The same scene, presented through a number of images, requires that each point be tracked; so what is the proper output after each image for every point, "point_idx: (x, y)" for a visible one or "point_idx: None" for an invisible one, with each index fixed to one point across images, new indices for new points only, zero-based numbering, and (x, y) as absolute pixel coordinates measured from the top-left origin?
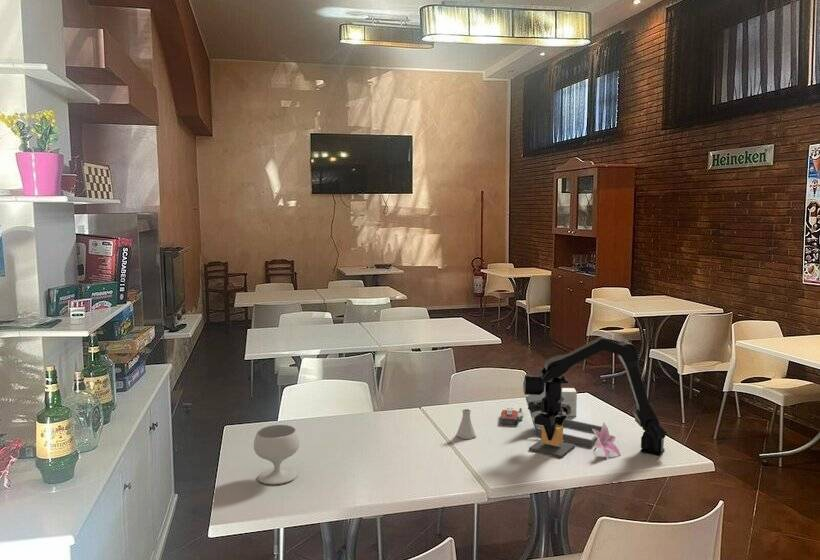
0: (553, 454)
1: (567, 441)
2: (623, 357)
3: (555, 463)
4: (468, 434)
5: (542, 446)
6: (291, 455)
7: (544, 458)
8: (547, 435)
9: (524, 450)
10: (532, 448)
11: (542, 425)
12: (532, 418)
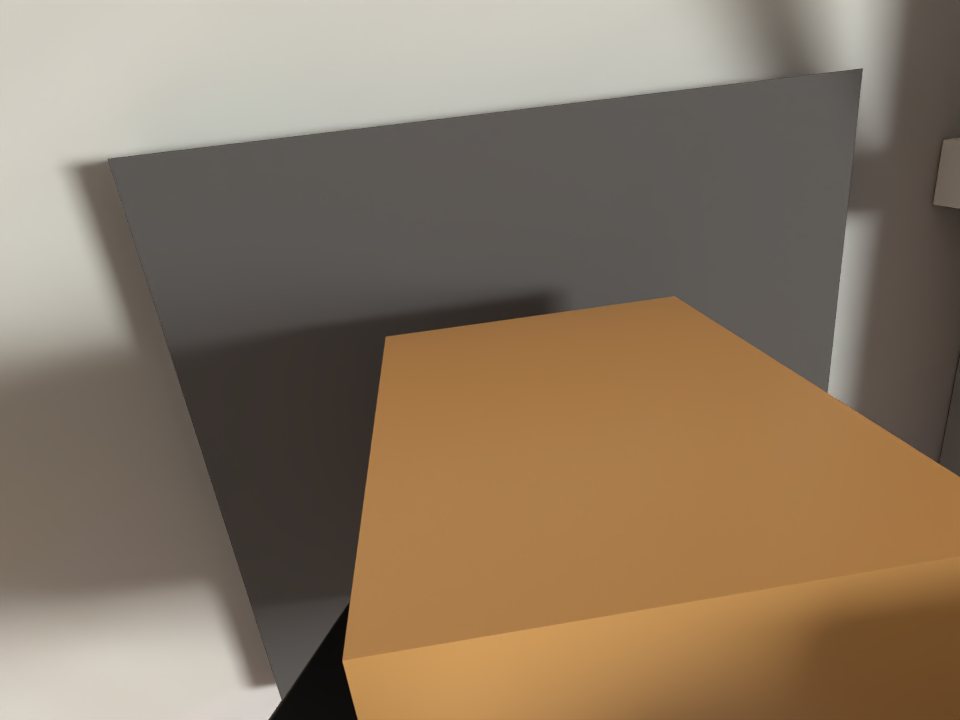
0: (259, 606)
1: (952, 428)
2: None
3: (78, 715)
4: None
5: (394, 330)
6: None
7: (84, 541)
8: (333, 648)
9: (55, 76)
10: (137, 242)
11: (421, 650)
12: None
